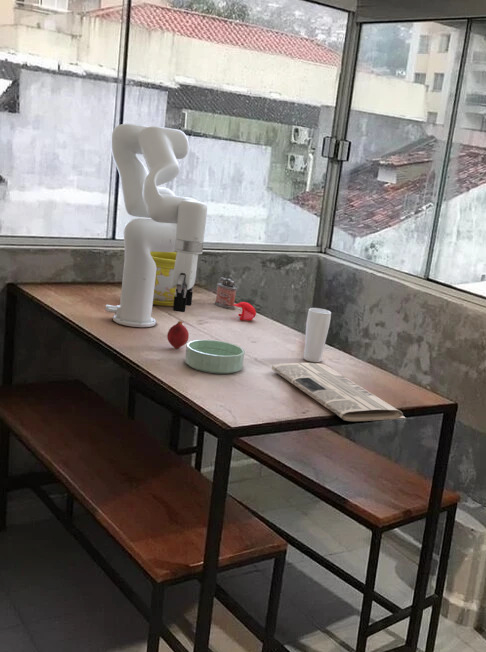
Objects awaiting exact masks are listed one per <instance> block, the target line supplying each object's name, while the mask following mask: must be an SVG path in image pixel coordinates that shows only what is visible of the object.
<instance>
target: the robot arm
mask: <svg viewBox="0 0 486 652" xmlns="http://www.w3.org/2000/svg"><path fill="white" fill-rule="evenodd" d="M110 150H111V151H110V152H111V156H112V159H113V162H114V164H115V167H116V170H117V171H118V175H119V181H120V187H121V193H122V200H123V205H124V209H125V211H126V214H128V215H130V216H131V217H135V218H133V219H130V220H128V221H127V222H126V223H125V224H124V228H123V244H124V259H123V271H122V280H121V289H120V291H121V292H120V300H119V305H118V304H117V305H112V304H105V308H104V310H105V312H107V313H109V314H110V313H111V314H112V313H113V314H114V315H113V317H112V319H113V322H114V323H116V324H119V325H122V326H125V327H133V328H150V327H154V326H156V324H157V320H156V319H155V318H154V317H153V316H152V313H153V305H154V304H153V296H154V287H155V278H156V264H155V261H154V260H153V258H152V256H151V254H150V252H176V253H177V255H176V260H175V266H174V273H173V280H172V287H173V288H175V287H176V286H177V287H176V292H175V296H174V305H173V306H172V311H173V312H178V313H185V312H186V307H187V306H188V307H190V306H192V302H193V294H194V291H193V290H194V287H195V284H196V277H197V269H198V260H199V255H203V252H204V251H203V250H204V240H205V231H206V223H207V215H208V206H207V204H206V203H205V202H202V201H199V200H196V198H193V197H190V196H181V195H176V193H174V192H173V190H171V189H170V188H167V187H162V186H161V185H164V184H166V183H169V182H172V181H173V180H174V179H175V178H177V176H178V175H179V173H180V164H179V162H178V160H183V159H184V158H186V157H187V155H188V153H189V151H190V142H189V137H188V136H187V134H186V133H185V132H184V131H183V130H181V129H176V128H170V127H163V126H158V125H149V126H148V125H142V124H136V123H122V124H118V125H116V126H115V127H114V128H113V130H112V132H111V136H110ZM137 155H142V156H143V159H144V161H145V164H146V166H145V164H144V163H143V161H142V160H141V159H140V158H139V157H138V156H137Z"/></svg>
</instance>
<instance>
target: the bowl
mask: <svg viewBox="0 0 486 652" xmlns="http://www.w3.org/2000/svg"><path fill="white" fill-rule="evenodd" d="M245 353H246V351H245V349H244V348H243V347H241V346H239V345H237V344H235V343H232V342H227V341H223V340H216V339H215V340H214V339H195V340H191V341H189V342H188V341H187V343H186V347H185V356H184V362H185V364H187V365H188V366H189V367H190V368H192V369H195V370H197V371H200V372H204V373H210V374H216V375H217V374H220V375H221V374H222V375H224V374H226V375H228V374H234V373H237V372H239V371H241V370H242V369H243V367H244V360H245V355H246V354H245Z"/></svg>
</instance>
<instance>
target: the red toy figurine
mask: <svg viewBox="0 0 486 652" xmlns="http://www.w3.org/2000/svg"><path fill="white" fill-rule="evenodd" d="M234 307H237V308H241V313H238V314H237V315H238V317H239V320H240V321H248V322H250V321H252V320H253V319H254V318H255V317H256V316H257V311H256V308H255V307H254V306H253V305H252V304H251V303H249V302H246V301H240V302H238V303H234Z"/></svg>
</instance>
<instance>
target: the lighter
mask: <svg viewBox="0 0 486 652" xmlns="http://www.w3.org/2000/svg"><path fill="white" fill-rule="evenodd" d="M219 282H220V283H219ZM219 282H218V283H216V286H217V289H216V296H215V301H214V305H215V306H218V307H220V308H221V307H222V308H224V309H228V310H235V306H234V304H235V301H236V294H237V293H236V292H237V290H238V288H237V287H236V286H235V280H232V279H231V278H226V277H222V276H221V277H219ZM221 282H222V283H221Z"/></svg>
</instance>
